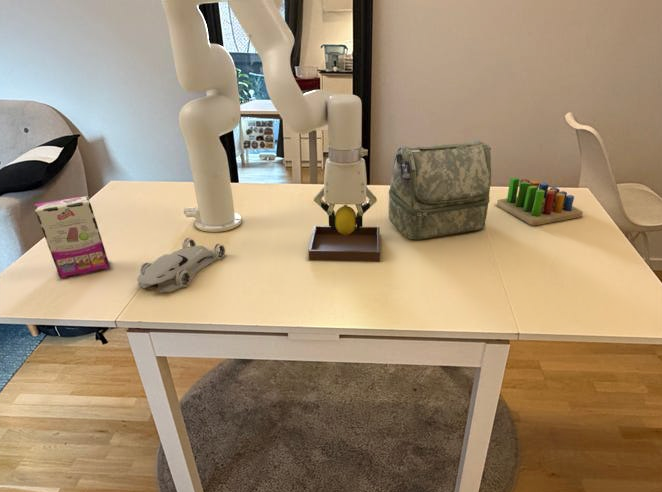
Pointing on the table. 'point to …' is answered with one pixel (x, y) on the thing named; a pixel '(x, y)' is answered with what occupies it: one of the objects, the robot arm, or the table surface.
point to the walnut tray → (345, 244)
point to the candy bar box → (72, 236)
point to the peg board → (538, 203)
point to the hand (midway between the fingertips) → (345, 228)
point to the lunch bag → (440, 189)
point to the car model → (178, 267)
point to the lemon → (345, 220)
